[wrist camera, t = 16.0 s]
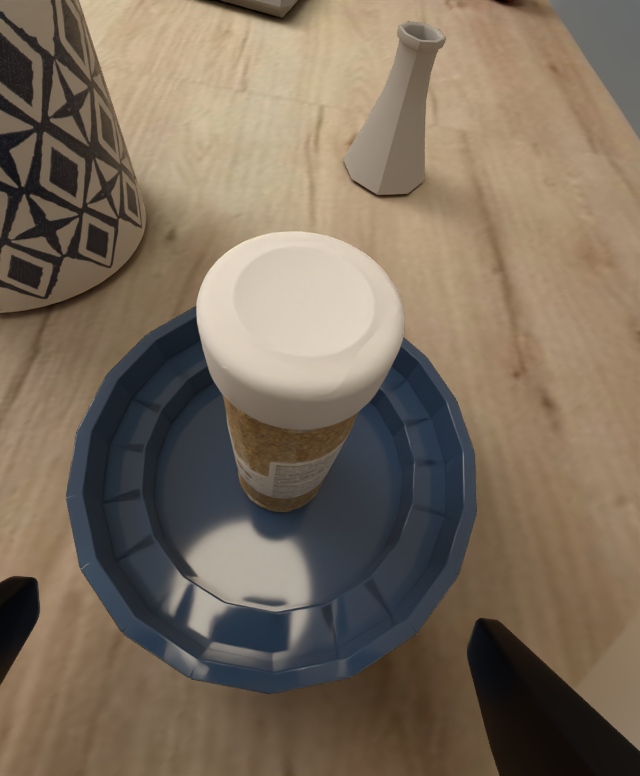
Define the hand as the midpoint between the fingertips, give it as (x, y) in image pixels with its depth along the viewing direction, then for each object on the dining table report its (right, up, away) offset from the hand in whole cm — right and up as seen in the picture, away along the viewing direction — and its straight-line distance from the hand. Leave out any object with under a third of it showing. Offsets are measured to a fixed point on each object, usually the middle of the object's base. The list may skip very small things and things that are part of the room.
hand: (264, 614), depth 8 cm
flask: (+7, +24, +27) cm, 37 cm away
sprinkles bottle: (-1, 0, +12) cm, 12 cm away
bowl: (-1, 0, +13) cm, 13 cm away
